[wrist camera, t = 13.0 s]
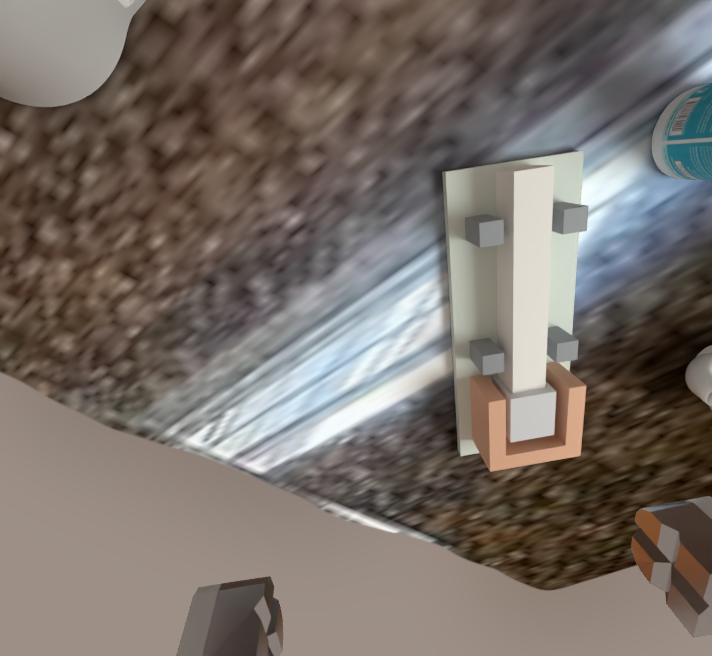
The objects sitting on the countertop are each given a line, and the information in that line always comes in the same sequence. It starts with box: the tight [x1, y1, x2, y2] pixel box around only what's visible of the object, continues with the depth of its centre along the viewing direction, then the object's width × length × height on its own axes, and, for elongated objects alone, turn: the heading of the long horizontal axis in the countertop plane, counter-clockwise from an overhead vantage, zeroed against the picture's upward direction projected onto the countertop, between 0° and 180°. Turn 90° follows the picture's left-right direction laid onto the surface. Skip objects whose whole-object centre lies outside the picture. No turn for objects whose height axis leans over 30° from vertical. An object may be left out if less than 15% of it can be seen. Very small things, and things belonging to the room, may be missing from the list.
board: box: [442, 151, 588, 472], centre depth 39 cm, size 30×12×6 cm, turn 8°
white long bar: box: [492, 165, 556, 443], centre depth 38 cm, size 25×4×4 cm, turn 8°
